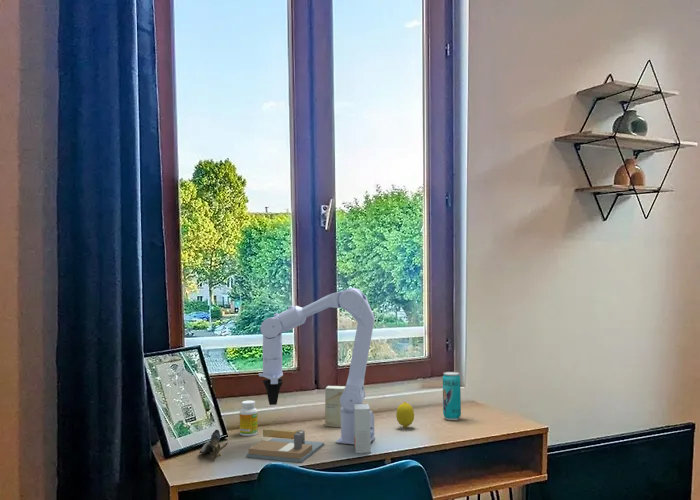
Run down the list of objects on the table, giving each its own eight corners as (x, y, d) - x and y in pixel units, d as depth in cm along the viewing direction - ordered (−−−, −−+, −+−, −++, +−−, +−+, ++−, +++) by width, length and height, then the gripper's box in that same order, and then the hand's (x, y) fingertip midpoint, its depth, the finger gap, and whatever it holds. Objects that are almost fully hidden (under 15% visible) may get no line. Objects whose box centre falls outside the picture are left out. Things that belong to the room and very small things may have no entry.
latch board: (324, 445, 174) (324, 423, 174) (301, 462, 159) (301, 439, 159) (273, 440, 179) (273, 419, 179) (246, 457, 164) (246, 434, 164)
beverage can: (439, 418, 202) (438, 372, 203) (451, 416, 206) (451, 371, 206) (452, 422, 198) (451, 375, 198) (464, 419, 201) (463, 373, 201)
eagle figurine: (235, 453, 164) (225, 439, 172) (221, 434, 161) (212, 420, 169) (210, 472, 161) (202, 456, 169) (196, 453, 159) (188, 438, 166)
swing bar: (306, 443, 172) (306, 430, 172) (302, 446, 170) (302, 433, 170) (266, 440, 176) (266, 427, 176) (262, 442, 174) (262, 429, 174)
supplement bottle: (254, 436, 184) (253, 404, 184) (237, 435, 185) (236, 403, 185) (260, 431, 189) (259, 400, 189) (243, 431, 190) (243, 399, 190)
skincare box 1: (324, 426, 194) (324, 388, 194) (327, 423, 198) (327, 385, 199) (344, 427, 193) (344, 388, 193) (346, 423, 197) (346, 385, 198)
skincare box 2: (354, 446, 172) (353, 403, 172) (369, 446, 172) (368, 403, 173) (355, 453, 166) (354, 408, 166) (371, 453, 166) (370, 408, 167)
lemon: (394, 429, 190) (393, 403, 190) (399, 424, 195) (399, 399, 195) (411, 430, 188) (411, 404, 188) (416, 426, 193) (416, 400, 193)
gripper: (257, 355, 188) (258, 399, 188) (259, 362, 174) (260, 410, 173) (280, 354, 189) (281, 398, 189) (284, 361, 175) (285, 409, 175)
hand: (272, 404), depth 181 cm, fingers closed
